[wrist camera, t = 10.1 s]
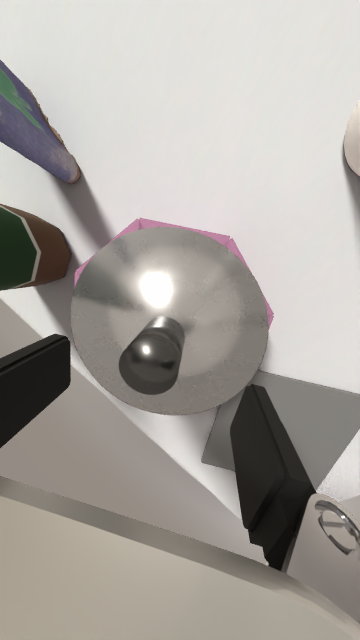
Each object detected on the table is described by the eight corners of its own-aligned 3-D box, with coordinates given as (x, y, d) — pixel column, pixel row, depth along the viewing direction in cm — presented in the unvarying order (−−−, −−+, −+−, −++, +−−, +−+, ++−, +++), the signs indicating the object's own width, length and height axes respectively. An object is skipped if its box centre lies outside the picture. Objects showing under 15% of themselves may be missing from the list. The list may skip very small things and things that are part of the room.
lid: (297, 253, 13) (372, 245, 7) (231, 423, 18) (245, 495, 13) (78, 209, 14) (-7, 171, 8) (77, 386, 19) (25, 437, 13)
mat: (374, 397, 22) (379, 401, 22) (312, 487, 28) (314, 491, 27) (234, 364, 23) (234, 367, 22) (201, 458, 29) (201, 462, 28)
